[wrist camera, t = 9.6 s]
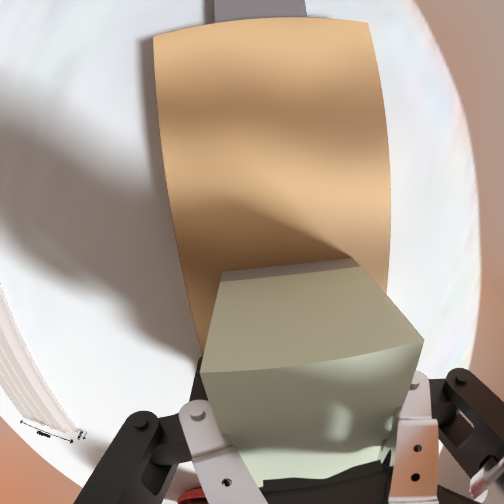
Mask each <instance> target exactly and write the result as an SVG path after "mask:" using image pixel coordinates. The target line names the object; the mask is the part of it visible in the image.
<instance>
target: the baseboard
mask: <svg viewBox="0 0 504 504" xmlns="http://www.w3.org/2000/svg"><path fill="white" fill-rule="evenodd" d="M0 385H1V386H2V388H3V389H4V391H5V392H6V394H7V395H8V397H9V398H10V400H11V401H12V403H13V404H14V405H15V407H16V408H17V410H18V411H19V412H20V414H21V415H22V416H23V417H24V418H26V419H28V420H31V421H33V422H37V423H40V424H41V425H43V426H48V427H50V428H51V429H56V430H59V431H61V432H63V433H66V434H68V433H70V432H77V433H78V431H79V430H78V429H77V427H76V426H75V425H74V423H73V422H72V421H71V419H70V418H69V416H68V415H67V414H66V412H65V411H64V409H63V408H62V406H61V405H60V403H59V402H58V400H57V399H56V397H55V396H54V394H53V393H52V391H51V390H50V388H49V386H48V385H47V383H46V381H45V380H44V378H43V376H42V375H41V373H40V371H39V369H38V367H37V366H36V364H35V362H34V360H33V358H32V356H31V354H30V352H29V351H28V349H27V347H26V344H25V342H24V340H23V338H22V336H21V334H20V332H19V330H18V327H17V325H16V323H15V320H14V318H13V316H12V313H11V311H10V308H9V306H8V303H7V301H6V298H5V295H4V292H3V289H2V287H1V284H0ZM22 421H23V420H22ZM22 421H20V423H23V422H22ZM24 424H26V423H24ZM27 425H28V424H27ZM29 426H30V425H29ZM31 427H32V426H31ZM34 428H35V427H34ZM36 429H37V428H36ZM38 430H40V429H38ZM38 430H37V431H38ZM41 431H42V430H41ZM41 431H38V432H39V433H38V432H36V433H37V434H39V435H40V434H41V436H46V437H49V438H50V435H48V434H50V433H48V434H45V433H43V432H45V431H43V432H42V433H41ZM46 433H47V432H46ZM82 433H83V431H81V432H80V434H82ZM86 433H87V432H86ZM80 434H79V435H80ZM51 435H52V434H51ZM85 435H86V434H85ZM54 436H55V435H54ZM81 436H82V435H80V436H78V438H77V439H79V438H80V437H81ZM56 437H58V436H56ZM84 437H85V436H84ZM84 437H83V439H85V438H84ZM59 438H61V437H59ZM62 439H64V438H62ZM65 440H67V439H65ZM79 440H80V439H79ZM68 441H70V440H68ZM72 442H73V440H71V442H70V443H72Z"/></svg>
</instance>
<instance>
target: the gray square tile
mask: <svg viewBox="0 0 504 504" xmlns="http://www.w3.org/2000/svg"><path fill="white" fill-rule="evenodd" d="M214 17H215V23H220V22H227V21H236V20H246V19H258V18H280V17H305V18H307V13H306V7H305V1H304V0H214Z"/></svg>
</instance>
